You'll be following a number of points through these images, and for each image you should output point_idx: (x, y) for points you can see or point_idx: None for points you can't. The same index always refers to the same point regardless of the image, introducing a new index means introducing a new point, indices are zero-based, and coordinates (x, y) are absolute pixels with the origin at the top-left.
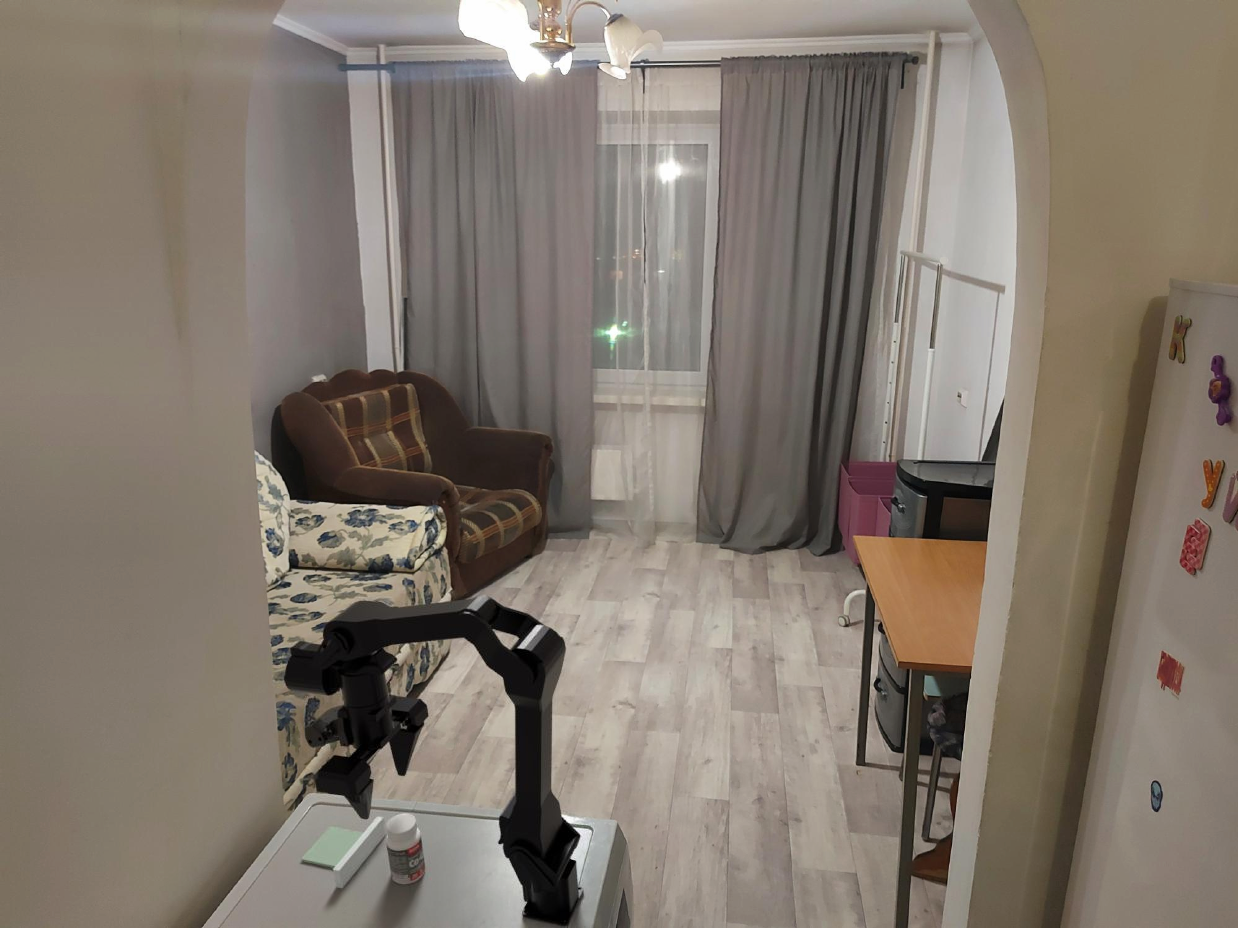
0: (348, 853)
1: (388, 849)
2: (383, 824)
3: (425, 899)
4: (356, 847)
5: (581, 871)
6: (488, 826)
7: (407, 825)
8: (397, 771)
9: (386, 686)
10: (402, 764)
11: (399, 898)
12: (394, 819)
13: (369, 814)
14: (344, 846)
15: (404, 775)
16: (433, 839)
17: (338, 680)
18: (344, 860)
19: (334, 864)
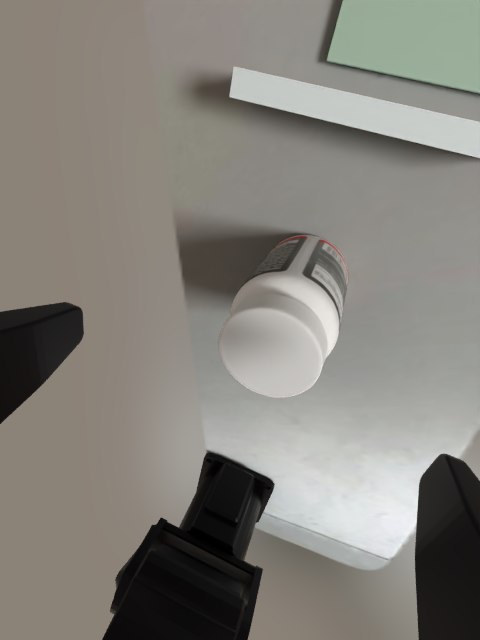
0: (311, 94)
1: (247, 280)
2: None
3: None
4: (342, 115)
5: (294, 523)
6: (447, 430)
7: (254, 376)
8: (446, 476)
9: None
10: (433, 571)
11: (229, 269)
12: (286, 331)
13: (65, 355)
14: (449, 3)
15: (420, 483)
16: (426, 316)
17: None
18: (275, 95)
19: (346, 13)
